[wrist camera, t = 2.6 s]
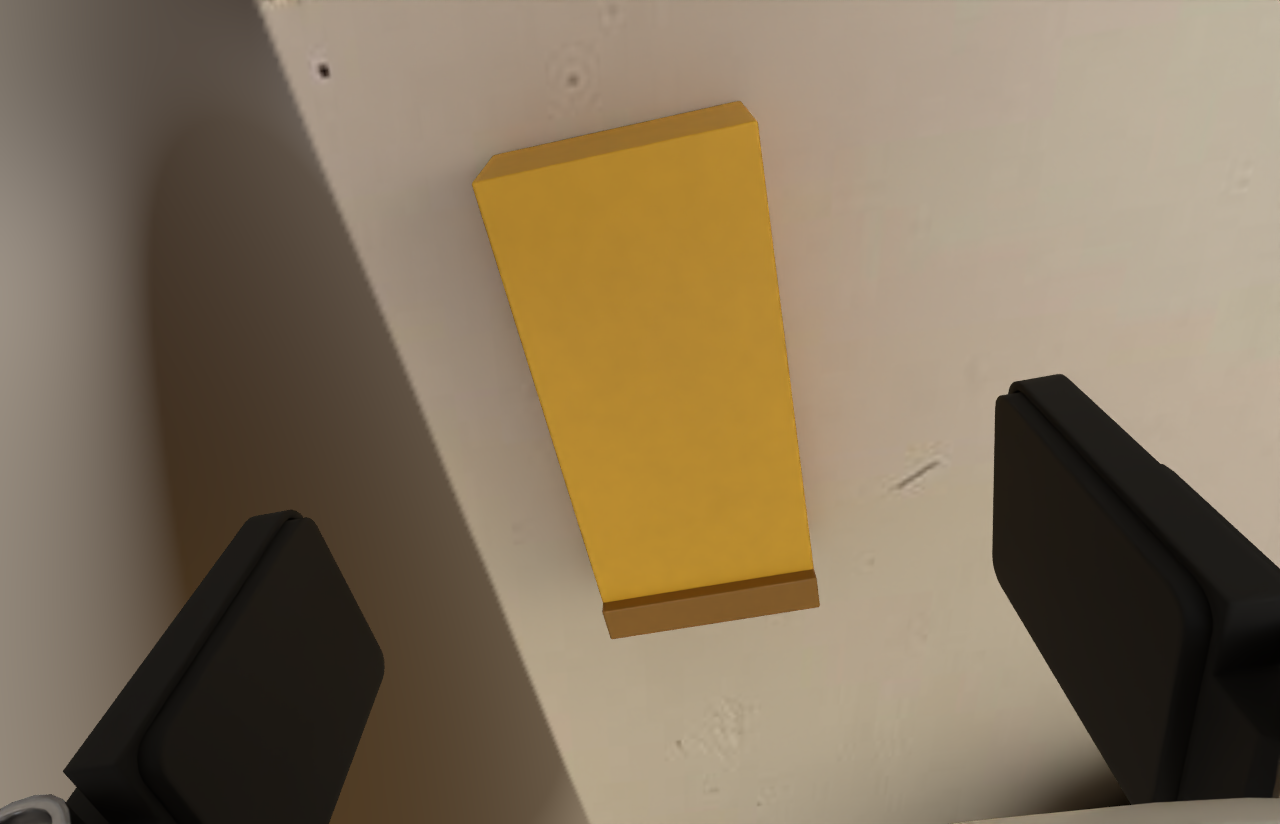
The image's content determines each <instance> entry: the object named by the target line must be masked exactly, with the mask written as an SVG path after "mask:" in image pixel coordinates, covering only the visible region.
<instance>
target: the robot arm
mask: <svg viewBox="0 0 1280 824" xmlns="http://www.w3.org/2000/svg"><path fill="white" fill-rule="evenodd" d="M992 557H993V565H994V570H995V573H996V576H997V579H998V581H999V583H1000V585H1001V587H1002V589H1003V590H1004V592H1005V594H1006V595H1007V597H1008V599H1009V600H1010V602H1011V604H1012V605H1013V607H1014V609H1015V611H1016V612H1017V614H1018V616H1019V617H1020V619H1021V621H1022V622H1023V624H1024V626H1025V627H1026V629H1027V631H1028V632H1029V634H1030V636H1031V637H1032V639H1033V641H1034V642H1035V644H1036V646H1037V647H1038V649H1039V651H1040V652H1041V654H1042V656H1043V658H1044V659H1045V661H1046V663H1047V664H1048V666H1049V668H1050V669H1051V671H1052V673H1053V674H1054V676H1055V678H1056V679H1057V681H1058V683H1059V684H1060V686H1061V688H1062V689H1063V691H1064V693H1065V694H1066V696H1067V698H1068V699H1069V701H1070V703H1071V704H1072V706H1073V708H1074V710H1075V711H1076V713H1077V715H1078V716H1079V718H1080V720H1081V721H1082V723H1083V725H1084V726H1085V728H1086V730H1087V731H1088V733H1089V735H1090V736H1091V738H1092V740H1093V741H1094V743H1095V745H1096V746H1097V748H1098V750H1099V751H1100V753H1101V755H1102V757H1103V758H1104V760H1105V762H1106V763H1107V765H1108V767H1109V768H1110V770H1111V772H1112V773H1113V775H1114V777H1115V778H1116V780H1117V782H1118V783H1119V785H1120V787H1121V788H1122V790H1123V792H1124V793H1125V795H1126V797H1127V798H1128V800H1129V802H1130V803H1131V805H1127V806H1117V807H1106V808H1096V809H1086V810H1076V811H1066V812H1056V813H1046V814H1036V815H1025V816H1015V817H1005V818H995V819H985V820H976V821H968V822H959V823H950V824H1280V569H1279V568H1278V567H1277V566H1276V565H1275V564H1274V563H1273V562H1272V561H1271V560H1270V559H1269V558H1267V557H1266V556H1265V555H1264V554H1263V553H1262V552H1261V551H1260V550H1259V549H1258V548H1257V547H1256V546H1254V545H1253V544H1252V543H1251V542H1250V541H1249V540H1248V539H1247V538H1246V537H1245V536H1244V535H1242V534H1241V533H1240V532H1239V531H1238V530H1237V529H1236V528H1235V527H1234V526H1233V525H1232V524H1230V523H1229V522H1228V521H1227V520H1226V519H1225V518H1224V517H1223V516H1222V515H1221V514H1220V513H1218V512H1217V511H1216V510H1215V509H1214V508H1213V507H1212V506H1211V505H1210V504H1209V503H1208V502H1207V501H1205V500H1204V499H1203V498H1202V497H1201V496H1200V495H1199V494H1198V493H1197V492H1196V491H1195V490H1193V489H1192V488H1191V487H1190V486H1189V485H1188V484H1187V483H1186V482H1185V481H1184V480H1183V479H1181V478H1180V477H1179V476H1178V475H1177V474H1176V473H1175V472H1174V471H1172V470H1171V469H1169V468H1168V467H1166V466H1165V465H1164V464H1160V463H1159V462H1158V461H1157V460H1156V459H1155V458H1153V457H1152V456H1151V455H1150V454H1149V453H1148V452H1147V451H1146V450H1145V449H1144V448H1143V447H1142V446H1141V445H1139V444H1138V443H1137V442H1136V441H1135V440H1134V439H1133V438H1132V437H1131V436H1130V435H1129V434H1128V433H1127V432H1125V431H1124V430H1123V429H1122V428H1121V427H1120V426H1119V425H1118V424H1117V423H1116V422H1115V421H1114V420H1112V419H1111V418H1110V417H1109V416H1108V415H1107V414H1106V413H1105V412H1104V411H1103V410H1102V409H1101V408H1100V407H1098V406H1097V405H1096V404H1095V403H1094V402H1093V401H1092V400H1091V399H1090V398H1089V397H1088V396H1087V395H1086V394H1084V393H1083V392H1082V391H1081V390H1080V389H1079V388H1078V387H1077V386H1076V385H1075V384H1074V383H1073V382H1072V381H1070V380H1069V379H1068V378H1067V377H1066V376H1064V375H1062V374H1056V375H1050V376H1045V377H1039V378H1033V379H1028V380H1022V381H1017V382H1014V383H1012V384H1011V386H1010V389H1009V392H1008V394H1007V395H1002V396H999V397H998V398H997V400H996V406H995V446H994V497H993V548H992ZM383 675H384V657H383V653H382V651H381V649H380V647H379V645H378V643H377V641H376V639H375V637H374V635H373V633H372V631H371V629H370V627H369V625H368V623H367V622H366V620H365V618H364V616H363V614H362V612H361V610H360V608H359V606H358V604H357V602H356V600H355V599H354V596H353V594H352V593H351V591H350V589H349V587H348V585H347V583H346V581H345V579H344V577H343V575H342V573H341V571H340V569H339V567H338V565H337V564H336V562H335V560H334V558H333V556H332V554H331V552H330V550H329V548H328V546H327V544H326V542H325V540H324V538H323V537H322V535H321V533H320V531H319V529H318V527H317V525H316V524H315V522H314V521H313V520H312V519H310V518H303V516H302V515H301V514H300V513H298V512H297V511H294V510H287V511H281V512H276V513H270V514H264V515H258V516H254V517H251V518H250V519H248V520H247V521H246V522H245V524H244V525H243V526H242V528H241V529H240V530H239V532H238V533H237V534H236V536H235V537H234V539H233V540H232V541H231V543H230V544H229V545H228V547H227V548H226V549H225V551H224V552H223V554H222V555H221V556H220V558H219V559H218V560H217V562H216V563H215V564H214V566H213V567H212V569H211V570H210V571H209V573H208V574H207V576H206V577H205V578H204V580H203V581H202V582H201V584H200V585H199V586H198V588H197V589H196V590H195V592H194V593H193V595H192V596H191V597H190V599H189V600H188V601H187V603H186V604H185V605H184V607H183V608H182V609H181V611H180V612H179V614H178V615H177V616H176V618H175V619H174V620H173V622H172V623H171V624H170V626H169V627H168V629H167V630H166V631H165V633H164V634H163V635H162V637H161V638H160V639H159V641H158V642H157V644H156V645H155V646H154V648H153V649H152V650H151V652H150V653H149V655H148V656H147V657H146V659H145V660H144V661H143V663H142V664H141V665H140V667H139V668H138V669H137V671H136V672H135V674H134V675H133V676H132V678H131V679H130V681H129V682H128V683H127V685H126V686H125V687H124V689H123V690H122V691H121V693H120V694H119V695H118V697H117V698H116V699H115V701H114V702H113V704H112V705H111V706H110V708H109V709H108V710H107V712H106V713H105V715H104V716H103V717H102V719H101V720H100V721H99V723H98V724H97V725H96V727H95V728H94V730H93V731H92V732H91V734H90V735H89V736H88V738H87V739H86V740H85V742H84V743H83V745H82V746H81V747H80V749H79V750H78V752H77V753H76V754H75V755H74V757H73V758H72V760H71V761H70V762H69V764H68V765H67V766H66V768H65V769H64V770H63V772H64V773H65V775H66V776H67V777H68V778H69V779H70V780H71V781H72V782H73V783H74V785H76V787H77V788H76V789H75V791H74V792H73V793H72V795H71V796H70V798H69V799H68V800H67V802H65V801H64V800H63V799H61V798H58V797H56V796H54V795H52V794H49V795H34V796H31V797H27V798H25V799H21V800H18V801H15V802H12V803H10V804H8V805H6V806H5V807H3V808H1V809H0V824H329V822H330V819H331V816H332V813H333V811H334V808H335V805H336V803H337V800H338V798H339V795H340V792H341V789H342V787H343V784H344V781H345V779H346V776H347V773H348V771H349V768H350V765H351V763H352V760H353V757H354V754H355V752H356V749H357V746H358V743H359V741H360V738H361V735H362V733H363V730H364V728H365V725H366V722H367V719H368V716H369V714H370V711H371V709H372V706H373V703H374V700H375V697H376V695H377V692H378V690H379V687H380V684H381V682H382V679H383Z"/></svg>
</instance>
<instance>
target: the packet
mask: <svg viewBox="0 0 1280 824" xmlns="http://www.w3.org/2000/svg"><path fill="white" fill-rule="evenodd" d="M472 187H473V190H474V193H475V196H476V199H477V203H478V206H479V209H480V212H481V215H482V219H483V222H484V225H485V228H486V231H487V234H488V238H489V241H490V244H491V247H492V250H493V254H494V257H495V260H496V263H497V266H498V270H499V273H500V276H501V279H502V282H503V285H504V289H505V292H506V295H507V298H508V301H509V305H510V308H511V311H512V314H513V317H514V321H515V324H516V327H517V330H518V333H519V336H520V340H521V343H522V346H523V349H524V352H525V356H526V359H527V362H528V365H529V368H530V372H531V375H532V378H533V381H534V384H535V387H536V391H537V394H538V397H539V400H540V403H541V407H542V410H543V413H544V416H545V419H546V423H547V426H548V429H549V432H550V435H551V438H552V442H553V445H554V448H555V451H556V454H557V458H558V461H559V464H560V467H561V470H562V474H563V477H564V480H565V483H566V486H567V489H568V493H569V496H570V499H571V502H572V505H573V509H574V512H575V515H576V518H577V521H578V525H579V528H580V531H581V534H582V537H583V540H584V544H585V547H586V550H587V553H588V556H589V560H590V563H591V566H592V569H593V572H594V576H595V579H596V582H597V585H598V588H599V591H600V595H601V598H602V601H603V615H604V618H605V622H606V625H607V628H608V631H609V634H610V637H611V639H616V638H623V637H629V636H636V635H642V634H649V633H655V632H661V631H668V630H674V629H681V628H687V627H694V626H700V625H706V624H713V623H719V622H726V621H732V620H739V619H745V618H751V617H758V616H764V615H771V614H777V613H783V612H790V611H796V610H803V609H809V608H816V607H819V606H820V603H819V595H818V587H817V579H816V575H815V572H814V568H813V560H812V552H811V544H810V536H809V528H808V520H807V512H806V504H805V496H804V488H803V480H802V472H801V464H800V456H799V448H798V440H797V432H796V424H795V416H794V408H793V400H792V392H791V384H790V376H789V368H788V360H787V352H786V344H785V336H784V328H783V320H782V312H781V304H780V296H779V288H778V280H777V273H776V265H775V257H774V249H773V241H772V233H771V225H770V217H769V209H768V201H767V193H766V185H765V177H764V169H763V161H762V153H761V145H760V137H759V129H758V122H757V121H756V120H755V118H754V117H753V116H752V115H751V113H750V112H749V111H748V110H747V109H746V107H745V106H744V105H743V104H742V102H741V101H737V102H732V103H728V104H723V105H719V106H714V107H710V108H705V109H701V110H696V111H691V112H687V113H682V114H678V115H673V116H669V117H664V118H660V119H655V120H651V121H646V122H642V123H637V124H633V125H628V126H624V127H619V128H615V129H610V130H606V131H601V132H597V133H592V134H588V135H583V136H579V137H574V138H570V139H565V140H560V141H556V142H551V143H547V144H542V145H538V146H533V147H529V148H524V149H520V150H515V151H511V152H506V153H502V154H497V155H494V156H492V158H491V159H490V160H489V162H488V163H487V164H486V166H485V167H484V168H483V169H482V171H481V172H480V173H479V175H478V176H477V177H476V179H475V180H474V181H473V183H472Z"/></svg>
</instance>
